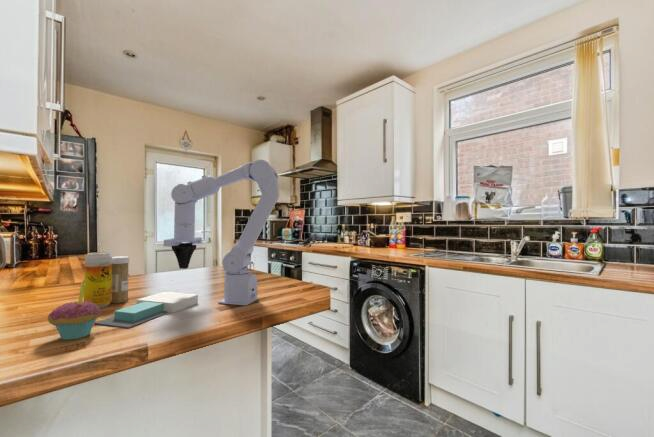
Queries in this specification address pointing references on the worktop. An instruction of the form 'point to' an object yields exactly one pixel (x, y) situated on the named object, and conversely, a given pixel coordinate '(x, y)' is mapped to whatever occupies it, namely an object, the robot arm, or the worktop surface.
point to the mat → (128, 324)
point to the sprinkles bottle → (119, 279)
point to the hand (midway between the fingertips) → (183, 268)
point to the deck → (171, 300)
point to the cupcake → (75, 317)
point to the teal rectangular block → (138, 311)
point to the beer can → (98, 278)
